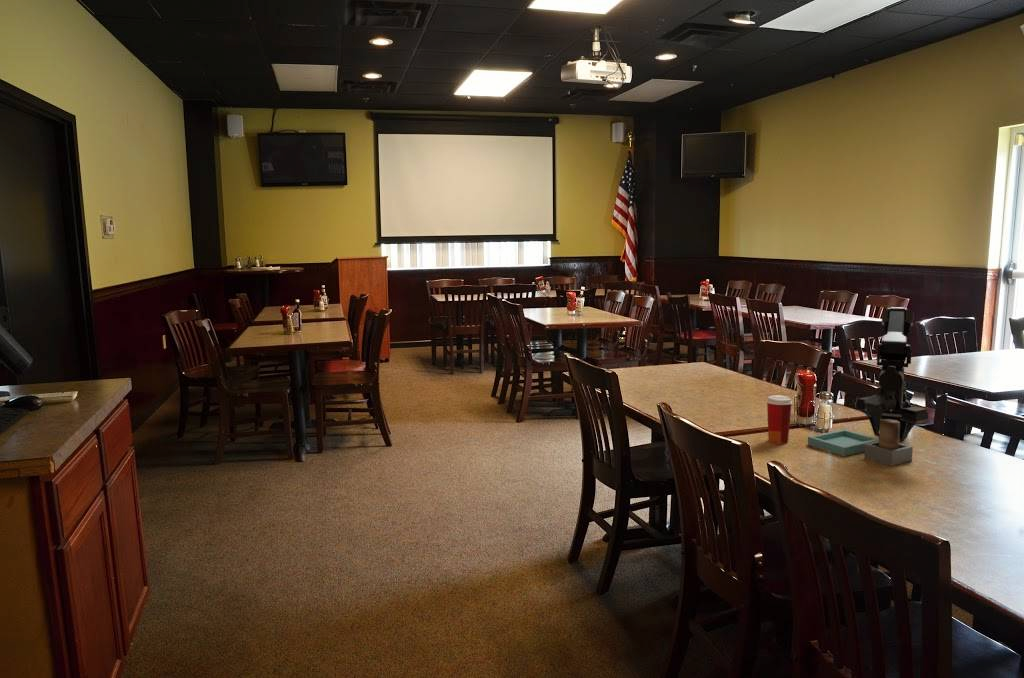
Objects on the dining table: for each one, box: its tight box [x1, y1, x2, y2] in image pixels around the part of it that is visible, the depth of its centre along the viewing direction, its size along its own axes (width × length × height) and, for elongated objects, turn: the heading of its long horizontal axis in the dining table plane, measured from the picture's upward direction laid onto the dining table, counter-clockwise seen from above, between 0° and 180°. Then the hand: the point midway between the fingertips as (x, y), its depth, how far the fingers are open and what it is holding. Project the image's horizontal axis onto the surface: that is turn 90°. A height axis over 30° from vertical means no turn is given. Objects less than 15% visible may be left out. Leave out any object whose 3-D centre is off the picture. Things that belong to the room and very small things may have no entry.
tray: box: [807, 429, 879, 457], centre depth 216 cm, size 16×13×2 cm
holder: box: [863, 441, 914, 467], centre depth 203 cm, size 9×9×4 cm
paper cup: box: [765, 394, 794, 445], centre depth 221 cm, size 8×8×14 cm
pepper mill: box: [878, 419, 900, 450], centre depth 202 cm, size 5×5×11 cm
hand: (888, 438), depth 202 cm, fingers open, 8 cm apart
